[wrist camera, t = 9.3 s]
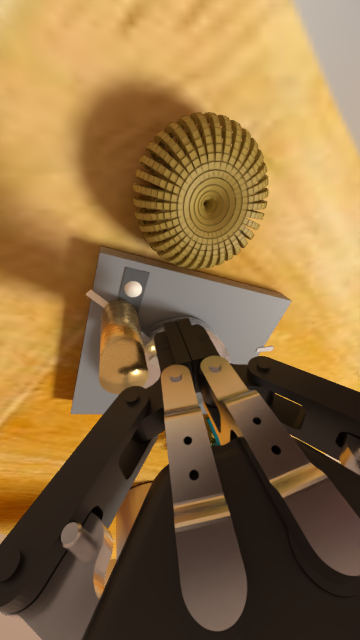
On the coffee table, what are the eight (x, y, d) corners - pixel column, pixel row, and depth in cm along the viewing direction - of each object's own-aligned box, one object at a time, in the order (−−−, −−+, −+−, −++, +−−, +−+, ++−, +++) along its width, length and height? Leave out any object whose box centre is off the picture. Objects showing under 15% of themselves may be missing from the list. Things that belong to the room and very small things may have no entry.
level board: (225, 403, 29) (231, 414, 27) (67, 400, 22) (65, 414, 21) (291, 295, 22) (302, 304, 21) (94, 244, 15) (92, 251, 14)
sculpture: (225, 297, 16) (108, 238, 12) (204, 275, 19) (108, 222, 15) (311, 177, 13) (194, 48, 9) (269, 175, 16) (171, 80, 12)
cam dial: (258, 374, 24) (296, 427, 19) (199, 418, 26) (220, 477, 21) (149, 264, 15) (168, 311, 10) (66, 341, 17) (50, 414, 12)
